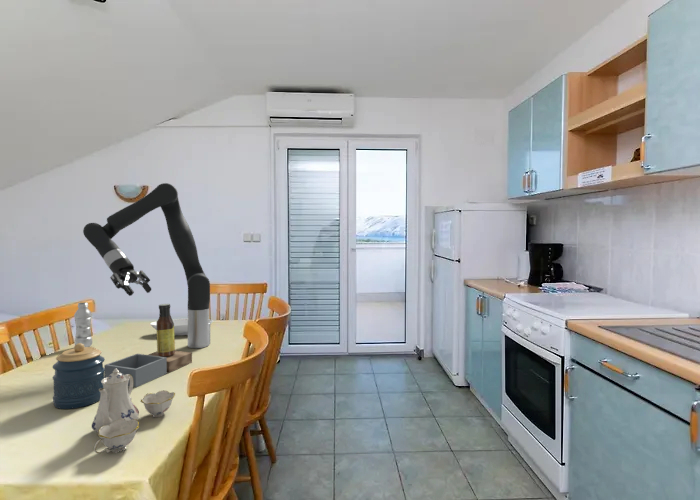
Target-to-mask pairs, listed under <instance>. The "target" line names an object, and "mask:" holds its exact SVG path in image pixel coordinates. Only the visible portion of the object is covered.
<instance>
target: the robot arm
mask: <svg viewBox="0 0 700 500" xmlns="http://www.w3.org/2000/svg"><path fill="white" fill-rule="evenodd" d="M158 208H161V211H162V213H163V215H164V217H165V218H164V219H165V221H166V227H167V232H168V234H169V239H170V241H171V245H172V247H173V249H174V251H175V254H176V255H177V258H178V259H179V262H180V263H181V265H182V268H183V271H184V274H185V280H186V285H187V319H188V335H187V347H188V348H190V349H201V348H206V347H208V346H210V344H211V324H210V323H209V319H210V302H211V299H210V298H211V281H210V280H209V278H208V277H207V274H206V273H205V271H204V269H203V268H202V265H201V263H200V259H199V255H198V248H197V245H196V241H195V239H194V235H193V232H192V231H191V228H190V226H189V224H188V222H187V220H186V218H185V217H184V215H183V212H182V209H181V204H180V200H179V193H178V190H177V188H176V187H175V186H174V185H173V184H171V183H166V182H165V183H163V182H162V183H161V184H158V185H157V186H156V187H155V188H154V189H153V190H151V191H150V192H149V193H148V194H146V195H145V196H143V197H142V198H141V199H138V200H137V201H135V202H133V203H132V204H130V205H127V206H125V207H124V208H122V209H120V210H118V211H116V212H114V213H112V214H111V215H109V216H108V217H107V218H106V222H107V223H106V224H105V225H103V226H102V225H101V224H99V223H96V222H88V223H87V224H86V225H85V226H84V227H83V229H82V233H83V235H84V237H85V239H86V240H87V241H88V242H89V243H90V244H91V245H92V246H93V247H94V248H95V249H96V251H97V252H98V254H99V255H100V257H101V258H102V259H103V261H104V263H105V265H106V266H107V267H108V268H109V270H110V271H111V272H112V275H110V277H109V279H110V280H111V281H112V283H113V285H114V286H115V288H117V289H122V290H124V292H125V293H126V294H127V295H128V296H129V297H130V296H133V294H134V293H135V291H134V290H133V288H132V287H131V286H130V284H131V283H132V284H136V285H140V286H141V287H142V288H143V290H144V291H145V292H146V293H147V294H149V293H151V291H152V287H151V286H150V285H149V283H150V281H151V279H150V278H149V277H148V276H147V274H146V273H145V271H143V270H139V271H136V269H134V268H135V267H134V264H133V263H132V262H131V261H130V259H129V258H128V256H127V255H126V254H125V253H124V252H123V251H122V250H121V248H120V247H119V245H117V243H116V242H115V241H114V240H112V239H113V238H114V237H116V235H117V234H118V233H119V232H120V231H122V230H124V229H125V228H128V227H129V226H131V225H133V224H134V223H136V222H137V221H139V220H141V219H142V217H144V216H145V215H148V214H149V213H150V212H152V211H154V210H156V209H158Z"/></svg>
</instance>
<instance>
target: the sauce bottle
mask: <svg viewBox="0 0 700 500" xmlns="http://www.w3.org/2000/svg"><path fill="white" fill-rule="evenodd" d="M158 309H159V317H158V319H157V330H156V348H157V350H156V352H158V356H160V357H167V356H171V355H173V354H174V353H175V351H176V342H175V336H176V335H174V323H173V320H174V319H172V316H171V315H172V314H171V304H170V303H161V304H159V305H158Z"/></svg>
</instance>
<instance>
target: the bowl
mask: <svg viewBox="0 0 700 500" xmlns="http://www.w3.org/2000/svg"><path fill="white" fill-rule="evenodd" d="M172 320H173V323H174V336H188V318H176V319H174V318H173V319H172ZM157 321H158V320H157ZM157 321H153V322H150V323H149V324H150V326H151V327H152V328H153V329H155V330H156V331H157ZM209 323H210V325H212V323H214V320H213V319H210V318H209Z"/></svg>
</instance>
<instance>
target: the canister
mask: <svg viewBox="0 0 700 500" xmlns="http://www.w3.org/2000/svg"><path fill="white" fill-rule="evenodd" d="M55 359H56V362H55V363H53V365H52V369H53V370H54V374H53V376H52V380H53V396H52V402H53V405H54V407H55V408H57V409H59V410H60V409H61V410H73V409H78V408H84V407H87V406H90V405H92V404H96V403H97V402H98V403H99V401H100V396H101V394H100V391H99V389H100V388H103V384H102V383H101V381H102V380H103V379H105V369H104V365H103V364H104V362H105V357H104V356H102V350H100V349H97V348H95V346H94V347H92V346H90V347H84V344H82V343H78V344H76V345H75V344H74V346H73V348H70V349H67V350H64V351H63V352H62V353H60V354H59V355H57V356H56V358H55Z"/></svg>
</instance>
